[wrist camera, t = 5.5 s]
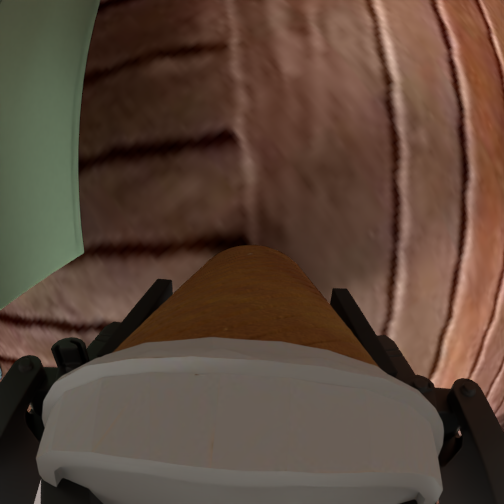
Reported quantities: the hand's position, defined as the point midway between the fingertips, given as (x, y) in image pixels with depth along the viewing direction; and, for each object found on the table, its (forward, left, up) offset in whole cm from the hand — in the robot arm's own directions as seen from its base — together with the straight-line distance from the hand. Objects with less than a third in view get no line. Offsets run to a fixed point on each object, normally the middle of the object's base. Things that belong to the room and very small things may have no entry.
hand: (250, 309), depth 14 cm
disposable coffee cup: (0, 0, -1) cm, 1 cm away
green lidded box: (+10, +19, -3) cm, 22 cm away
